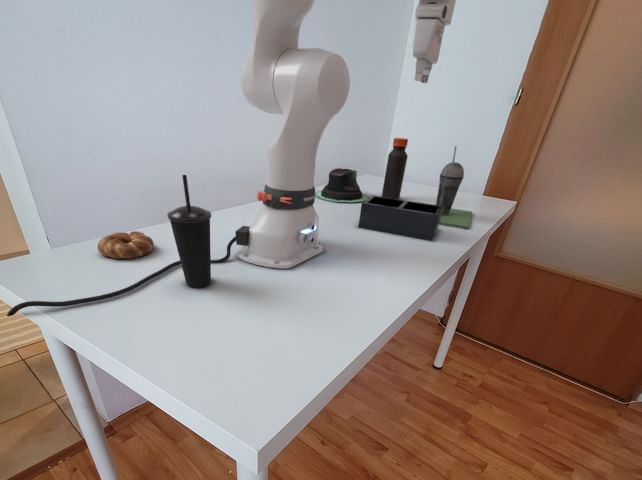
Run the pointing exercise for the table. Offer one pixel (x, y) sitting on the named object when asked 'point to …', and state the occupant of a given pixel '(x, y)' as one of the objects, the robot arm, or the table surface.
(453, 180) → the beverage cup
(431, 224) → the black divided storage box
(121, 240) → the braided bread ring
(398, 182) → the bottle
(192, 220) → the drinking cup
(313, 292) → the table surface
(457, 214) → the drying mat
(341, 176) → the black fabric hat shape
